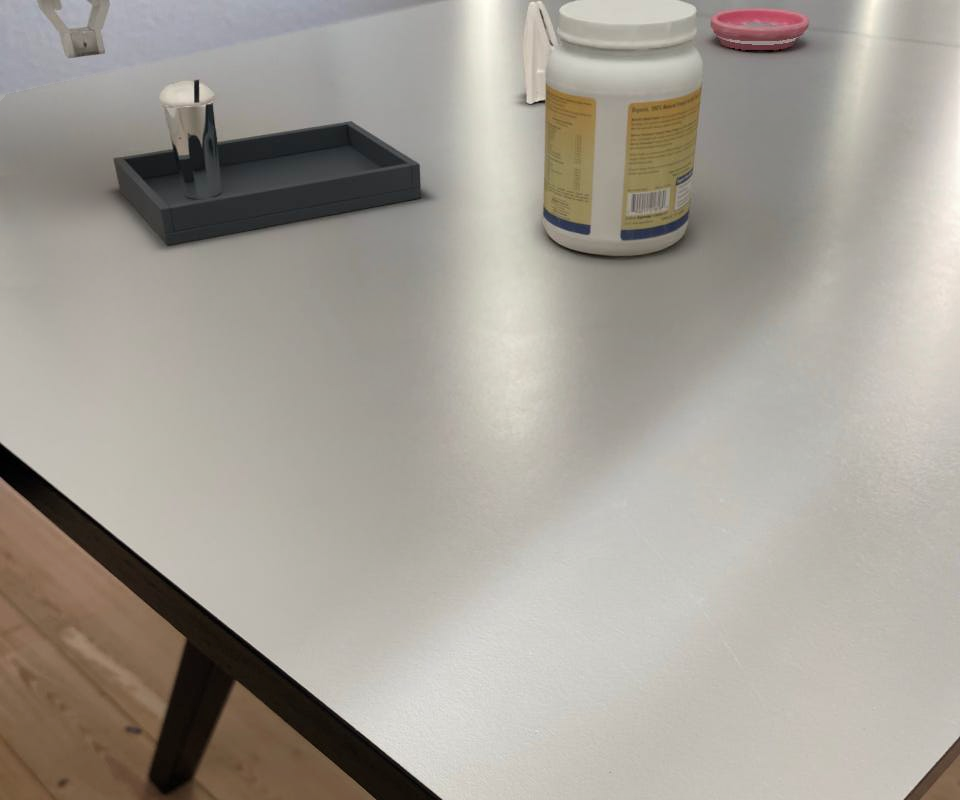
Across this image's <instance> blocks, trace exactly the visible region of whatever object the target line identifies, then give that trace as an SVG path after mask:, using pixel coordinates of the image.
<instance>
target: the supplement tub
mask: <svg viewBox="0 0 960 800" xmlns="http://www.w3.org/2000/svg"><path fill="white" fill-rule="evenodd" d="M696 25H697V8H696V7H695V6H694V5H693V4H690V3H688V2H685V1H682V0H574V1H570V2H568V3H565V4H563V5H562V6H560V7H559V10H558V26H557V28H556V33H555V34H556V35H557V37H558V38H559V39H560V41H561V42H560V43H558V46H557V47H556V48H555V49H554V50H553V51H552V53H551V54H550V56H549V58H548V61H547V65H546V72H545V77H546V88H545V100H544V113H545V114H544V163H543V165H544V167H543V199H542V200H543V202H542V203H543V205H542V222H543V227H544V229H545V231H546V233H547V235H548V236H549V237H550V239H552V240H553V241H554V242H555V243H557V244H559V245H560V246H562V247H565V248H567V249H569V250H573V251H576V252H579V253H585V254H589V255H599V256H608V257H633V256H641V255H646V254H647V255H648V254H652V253H656V252H659V251H662V250H665V249H667V248H668V247H671V246H673V245H674V244H676V243H677V242H678V241H680V240H681V238H683V236H684V235H685V234H686V231H687V229H686V228H688V223H689V220H690V209H691V197H692V187H693V177H694V168H695V167H694V166H695V157H696V147H697V139H698V138H697V137H698V127H699V118H700V110H701V99H702V90H703V89H702V87H703V79H704V61H703V59H702V56H701V53H700V52H699V50H698V49H697V48H696V47H695V46H694V45H693V44H691V43H692V41H693V39H694V38H696V36H697V34H698V28H697V26H696ZM685 230H686V231H685ZM684 231H685V232H684ZM683 232H684V233H683ZM682 233H683V234H682ZM681 234H682V235H681ZM679 235H681V236H679ZM678 236H679V237H678ZM677 237H678V238H677ZM675 238H676V239H675ZM673 239H674V240H673ZM670 240H672V241H670ZM668 241H669V242H668Z"/></svg>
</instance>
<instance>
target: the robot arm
mask: <svg viewBox="0 0 960 800" xmlns="http://www.w3.org/2000/svg"><path fill="white" fill-rule="evenodd" d="M36 2H37V7H38V8H39V10H40V11H41V12H42V13H43V14H44V16H45V17H46V19H48V21H49V22H50V23H51V24H52V25H53V27H54V28H55V29H56V30H57V32H59V36H60V42H61V45H62V51H63V53H64V56H65V57H66V58H67V59H76V58H81V57H90V56H98V55H104V54H105V53H106V49H105V44H104V39H103V35H102V30H103V28H104V25H105V22H106V21H105V20H106V18H107V15H108V12H109V9H110V6H111V4H110V0H86V2H88V3H89V4H91V9H90V12H89V17H88V21H87V25H86V26H83V27H74V28H69V27H68V26H67V25H66V23H65V22H64V21H63V20H62V18H61V16H59V15H58V13H57V12H56V11H60V10H62V8H63V7H62V2H61V0H36Z"/></svg>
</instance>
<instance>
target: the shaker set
mask: <svg viewBox="0 0 960 800" xmlns="http://www.w3.org/2000/svg"><path fill="white" fill-rule="evenodd" d="M525 17H526V18H525V22H524V31H523V38H522V39H523V40H522V59H523V69H524V80H525V89H526V100H525V101H526V104H529V105H530V104H531V105H532V104H534V103H535V102H536V103H537V102H539V101H545V88H546V77H545V72H546V65H547V61H548V58H549V56H550V54H551V53H552V51H553V50H554V49H555V48H556V47H557V46H558V45H559V43H558V42H559V41H558V39H557V36H556V35H557V34H556V33H555V30H554V26H553V23H552V21H551V17H550V14H549V12H548V10H547V8H546V6H545V4H544V2H543V1H541V0H537V1H536V2H535V1H530V2H529V3H528V8H527V12H526V16H525ZM537 92H538V93H537Z"/></svg>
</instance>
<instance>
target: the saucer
mask: <svg viewBox="0 0 960 800" xmlns="http://www.w3.org/2000/svg"><path fill="white" fill-rule="evenodd" d="M749 23H766V24H773V25H783V26H777V27H750V26H739V25H744V24H749ZM809 25H810V18H809V17H808V16H807V15H805V14H803V13H801V12H797V11H792V10H787V9H778V8H738V9H737V8H735V9H729V10H723V11H720V12H718V13H715V14H714V15H712V16H711V18H710V28H711V29H712V31H713V33H714V35H715V34H716V35H715V36H716V37H717V38H718V40H719V43H720V44H721V45H722V46H724V47H726V48H729V47H730V48H729V49H732V48H735V49H734V50H738V49H741V50H740V51H745V50H774V51H780V50H779V49H781V50H786V49H789V48H790V47H792V46H794V44H795V43H796V41H797V40H795V41H792V42H789V43H783V44H774V45H752V44H741V43H735V42H730V41H726V40H723V39H721V38H719V37H722V38H726V39H732V40H740V41H780V40H781V41H782V40H787V39H793V38H796V37H799V36H801V35H802V36H803V35H804V33H805V32H806V31H807V30H808V28H809ZM718 36H719V37H718ZM802 36H801V37H802ZM799 38H800V37H799ZM788 47H789V48H788Z"/></svg>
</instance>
